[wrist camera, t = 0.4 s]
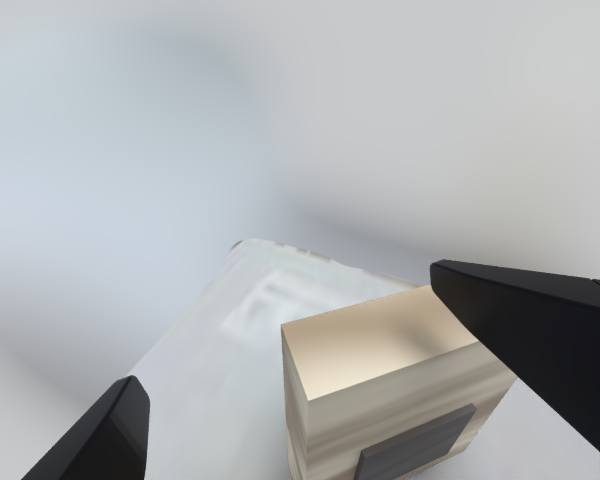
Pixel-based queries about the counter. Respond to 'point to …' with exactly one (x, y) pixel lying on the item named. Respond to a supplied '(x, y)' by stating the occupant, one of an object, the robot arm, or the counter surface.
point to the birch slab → (385, 388)
